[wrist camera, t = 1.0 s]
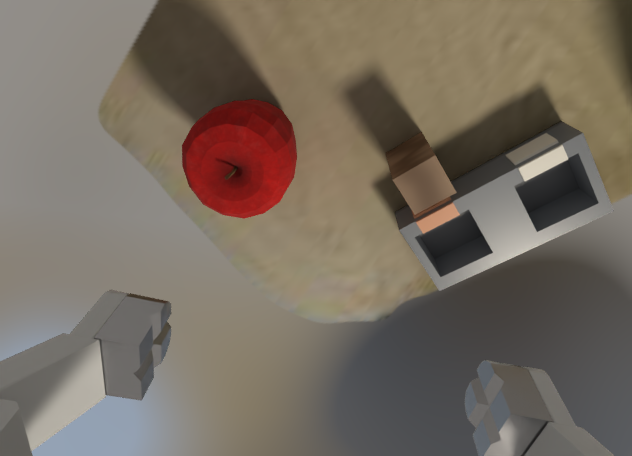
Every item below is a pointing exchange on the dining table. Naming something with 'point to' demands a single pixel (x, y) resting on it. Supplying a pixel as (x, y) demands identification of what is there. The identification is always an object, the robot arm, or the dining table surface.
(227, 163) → the apple
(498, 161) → the socket block
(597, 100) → the dining table surface
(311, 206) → the dining table surface
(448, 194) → the walnut plug
